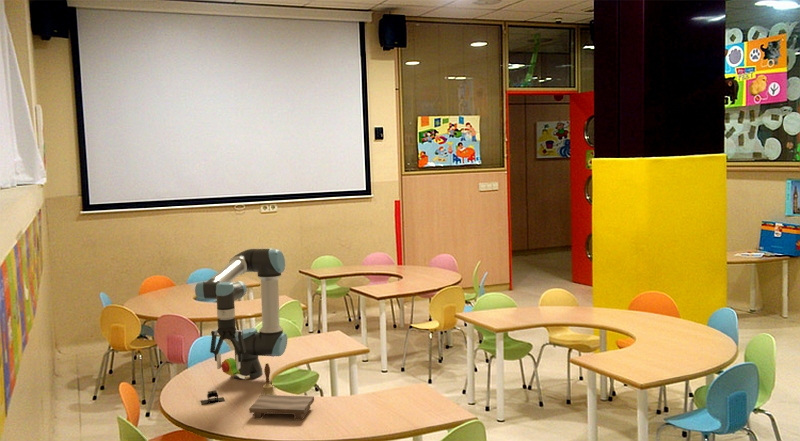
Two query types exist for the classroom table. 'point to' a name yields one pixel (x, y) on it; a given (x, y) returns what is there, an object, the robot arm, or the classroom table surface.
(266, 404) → the walnut stand
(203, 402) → the black arched bracket
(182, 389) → the classroom table surface
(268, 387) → the hand bell
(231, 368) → the toy measuring tape
